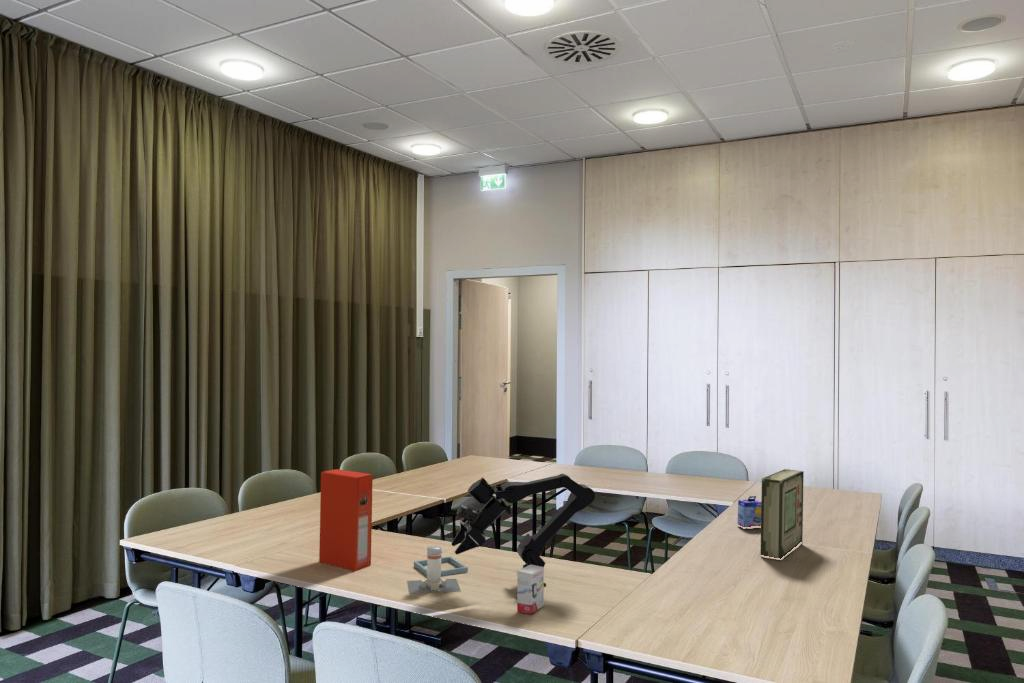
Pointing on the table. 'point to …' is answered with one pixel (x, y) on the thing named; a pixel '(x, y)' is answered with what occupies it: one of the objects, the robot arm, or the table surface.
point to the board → (433, 586)
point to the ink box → (530, 589)
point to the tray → (449, 559)
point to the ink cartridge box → (749, 512)
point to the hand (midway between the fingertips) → (453, 549)
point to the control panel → (781, 512)
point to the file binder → (346, 519)
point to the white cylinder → (433, 565)
